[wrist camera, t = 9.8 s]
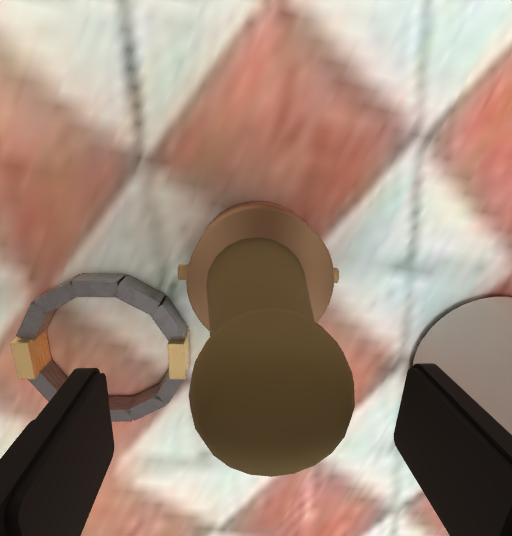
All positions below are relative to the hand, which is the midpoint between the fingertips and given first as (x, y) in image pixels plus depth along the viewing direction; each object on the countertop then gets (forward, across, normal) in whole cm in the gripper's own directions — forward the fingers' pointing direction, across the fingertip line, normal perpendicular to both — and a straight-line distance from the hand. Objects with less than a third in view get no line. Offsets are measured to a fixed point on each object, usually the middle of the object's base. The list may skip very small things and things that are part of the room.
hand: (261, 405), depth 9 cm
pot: (+15, -1, 0) cm, 15 cm away
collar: (+15, +10, +7) cm, 20 cm away
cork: (+10, -1, 0) cm, 10 cm away
